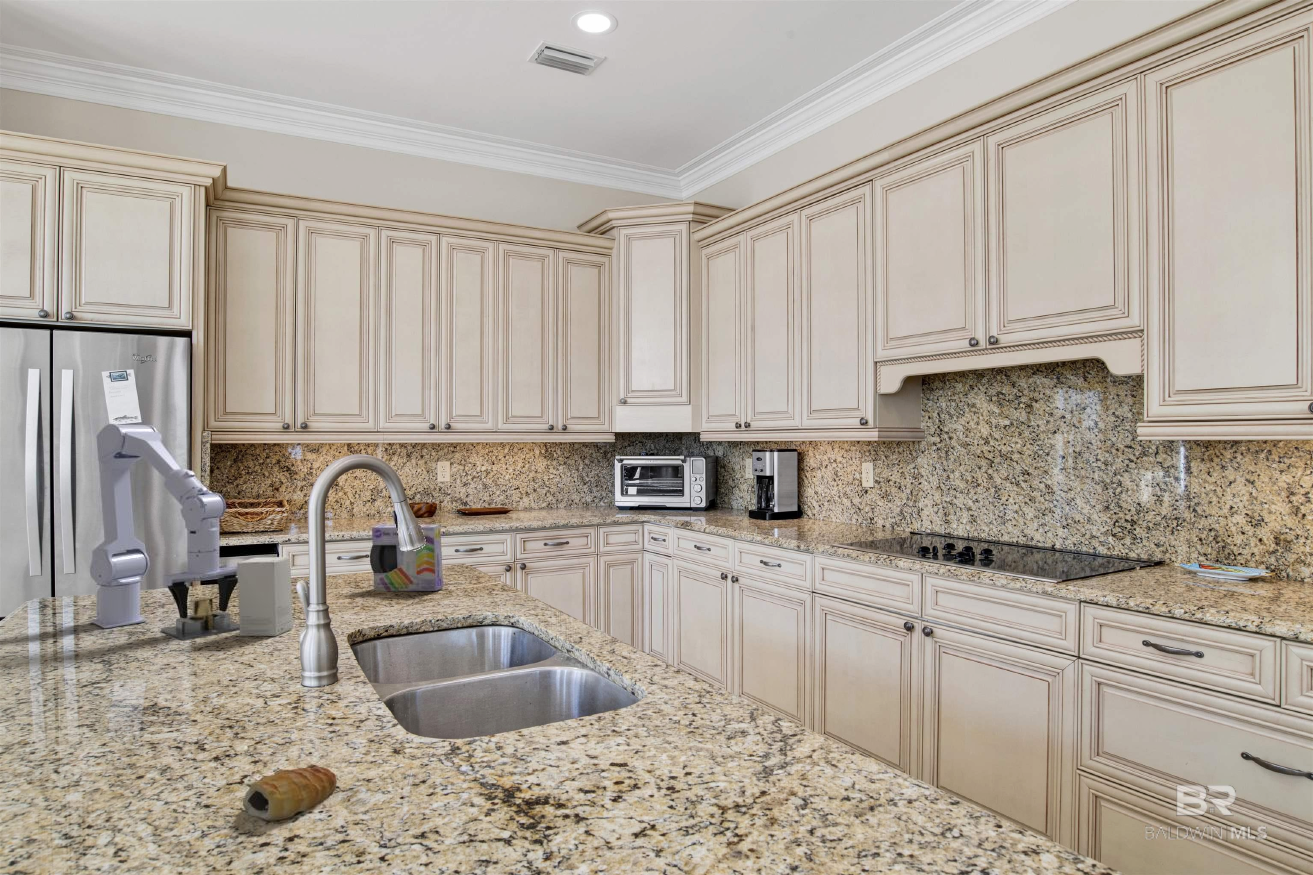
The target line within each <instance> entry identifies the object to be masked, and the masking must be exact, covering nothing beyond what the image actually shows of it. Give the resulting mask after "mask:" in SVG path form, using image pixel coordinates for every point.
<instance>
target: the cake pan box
mask: <svg viewBox="0 0 1313 875" xmlns="http://www.w3.org/2000/svg"><path fill="white" fill-rule="evenodd" d="M419 525H420V526H421V529H422V530H423V533H424V536H425V539H426V544H425V546H424V547H423V548H421V549H419V550H416V551H407V552H405V551H401V550H400V548H399V541H398V533H397V528H396V524H389V523H388V524H377V525H375V526H372V528H371V535H372V536H371V537H372V538H371V539H372V540H371V541H372V542H371V543H372V545H371V548H370V552H369V564H370V567H371V570H372V572H373V591H387V592H388V591H392V592H396V591H398V592H401V591H402V592H436V591H439V590H442V589H443V588H444V580H443V575H444V574H443V557H442V555H443V554H442V552H443V551H442V535H441V534H442V532H441V531H442V530H441V528H442V526H441V524H419Z"/></svg>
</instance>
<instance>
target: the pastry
mask: <svg viewBox="0 0 1313 875" xmlns="http://www.w3.org/2000/svg"><path fill="white" fill-rule="evenodd" d="M337 782H338V781H337V777H336V773H334V772H333V771H332V770H330V769H329V768H326V767H323V766H313V767H312V768H308V767H298V768H294V769H283V770H277V771H276V772H275V773H274V774H269V775H265V776H262V777H261V778H260V779H259V780H258V781H257V782H253V783H251V784H250V786H249V788H248V790H247V791H246V793H245V796H244V797H243V799H242V806H243V808H244V809H245V811H246V813H247V815H249V816H250V817H253V818H259V819H260V818H261V819H263V820H265V821H271V822H274V821H283V820H286V819H289V818H292V817H294V815H295V814H297V813H300V812H302V813H303V812H306V811H308V810H310V809H312V808H313V806H316V805H318V804H320V802H321V801H323V800H325V799H327V798H328V797H329V796H330V795H332V793H333V792H334V790H335V789H336V787H337Z"/></svg>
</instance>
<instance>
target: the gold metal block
mask: <svg viewBox="0 0 1313 875" xmlns="http://www.w3.org/2000/svg"><path fill="white" fill-rule="evenodd" d="M213 603H214V599H213V597H199V598H195V599H193V600H192V614H193V620H205V629H207V630H210V629H213V612H214V611H213V609H214V607H213V606H214V604H213Z"/></svg>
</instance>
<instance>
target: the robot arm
mask: <svg viewBox="0 0 1313 875" xmlns="http://www.w3.org/2000/svg"><path fill="white" fill-rule="evenodd" d="M162 437H163V436H162V433H160V432H158V430H157V429H156V428H155V426H153V425H151V424H115V423H108V424H106V425H104V426H103V427H102V428H101V429H100V431H99V432H98V433H97V434H96V445H97V447H96V448H97V459H98V470H99V472H98V473H99V482H100V495H101V496H100V497H101V498H100V499H101V508H102V509H101V510H102V522H103V523H102V524H103V535H104V536H103V538H104V539H103V541H102V542H101V543H100V544H99V545H98V546H96V547H95V548H94V549H93V550H92V552H91V553H92V557H91V563H90V565H89V572H90V577H91V578H92V580H93V581H94V582H95V583H96V586H99V588H98V590H97V592H96V618H95V619H91V623H93V624H95V625H97V626H99V627H101V628H103V629H109V628H116V627H121V626H122V627H123V626H128V625H134V624H141V623H145V622H147V621H148V618H145V617H142V616H141V581H143V580H144V576H146V575H147V574H148V572H149V570H150V566H151V564H150V562H151V561H150V558H149V556H148V554H147V551H146V544H145V543H144V542H142V541H141V540H139V539H138V538H136V537H135V528H134V514H133V500H132V489H131V488H132V486H131V476H130V475H131V474H130V473H131V472H130V468H131V467H132V466H133V464H135V463H136V462H137V461H139V460H141V459H142V458H143V459H144V460H145V461H146V462H148V464H150V466H152V468H153V469H155V470H156V471H157V472H158V473H159V474H160V475H161V476H162V477H163V478H164V483H163V485H164V488H165V489H166V490H167V491H168V492H169V494H171V496H172V497H173V498H174V499H175V500H176V501H177V503H178V504H179V505H180V506H181V508H180V515H181V516H182V519H183V520H184V523H185V526H184V528H185V529H186V531H187V571H183V572H178V573H172V574H166V575H162V577H163V578H162V580H163V581H162V584H163V586H166V587H167V589H168V590H169V592H170V593H171V595H172V598H173V600H174V601H175V604H176V607H177V610H178V614H179V618H183V619H184V618H187V615H189V613H188V601H189V600H188V598H189V591H190V587H189V586H187V584H185V583H193V582H201V581H202V582H203V581H209V580H215V579H216V580H217V586H218V610H219V611H218V612H226V613H227V611H228V605H229V602H230V600H231V597H232V594H233V592H234V590H235V588H236V586H238V570H237V565H236V566H228V567H220V519H222V518H223V516H224V515H225V513H226V510H227V504H226V501H225V499H224V498H223V496H222V495H221V493H218V492H212V491H211V490H208V488H207V487H205V485H204V484H203V483H202V482H201V480H199V479H198V478H197V477H196V473H195V472H194V471H193V470H189V469H186V468H181V467H180V466H179V465H178V463H177V462H176V460H175V459H174V458H173V457H172V455H171V454H170V453H169V451H168V450H167V448H166V446H164V444H163V443H162V441H163V440H162V439H163V438H162ZM122 551H123V552H122ZM117 552H118V553H117Z"/></svg>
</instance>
